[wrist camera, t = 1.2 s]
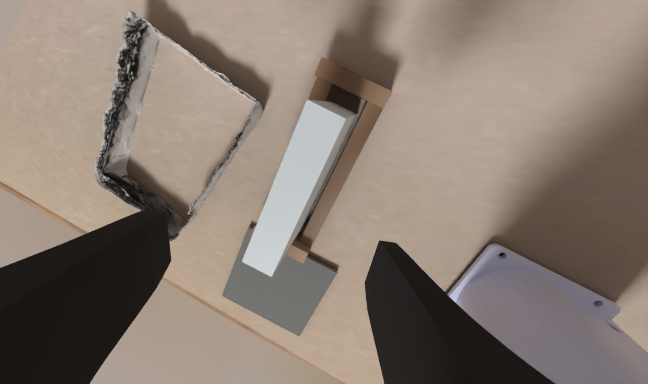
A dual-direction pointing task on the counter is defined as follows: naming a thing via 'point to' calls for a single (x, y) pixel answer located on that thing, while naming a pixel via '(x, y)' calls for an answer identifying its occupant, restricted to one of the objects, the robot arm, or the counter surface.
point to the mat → (280, 289)
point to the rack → (377, 100)
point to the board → (298, 182)
